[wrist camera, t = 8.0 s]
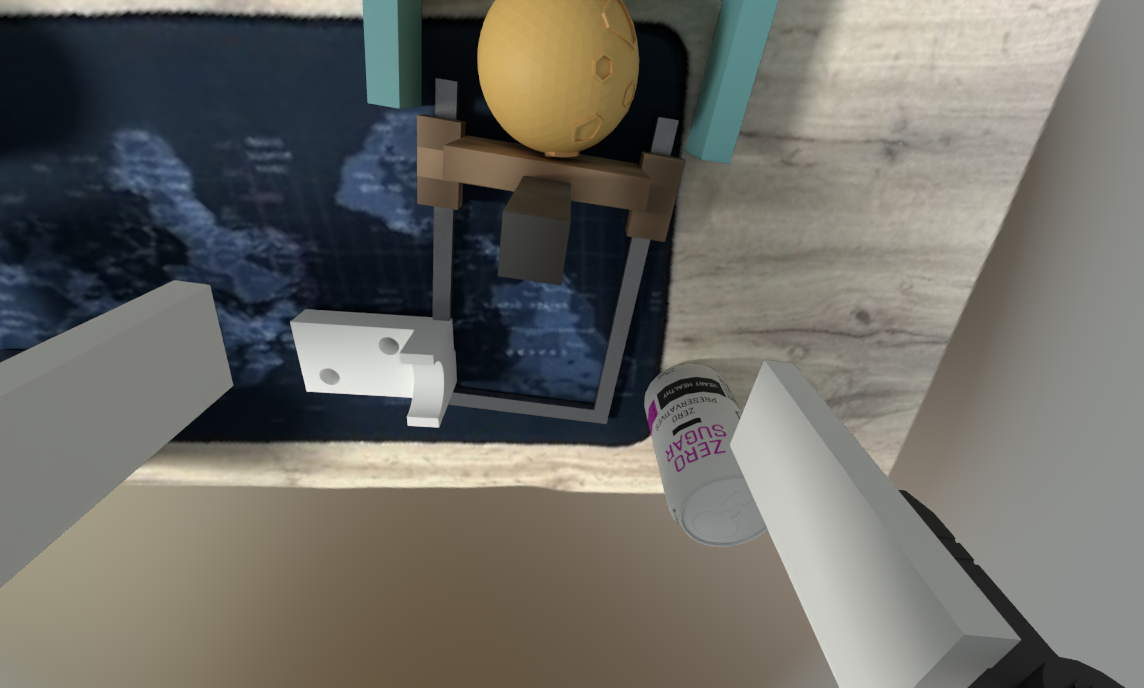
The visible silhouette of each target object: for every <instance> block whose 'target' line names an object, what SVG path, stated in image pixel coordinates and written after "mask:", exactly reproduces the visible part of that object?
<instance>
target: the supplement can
mask: <svg viewBox="0 0 1144 688" xmlns="http://www.w3.org/2000/svg"><path fill="white" fill-rule="evenodd" d="M644 406H645V411H646V415H647V419H648V423H649V428H650V432H651V436H652V441H653V445H654V449H655V453H656V458H657V462H658V466H659V470H660V475H661V479H662V483H663V488H664V492H665V496H666V500H667V504H668V508H669V510H670V513H671V515H672V517H673V519H674V520H675V521H676V522H678V524H680V525H681V526H682V527H683V529H684V532H685V533H686V534H688V535H689V536H690V537H691V538H692V539H693V540H694V541H697V542H699V543H702V544H704V545H707V546H716V547H727V546H736V545H740V544H743V543H746V542H748V541H751V540H754V539H756V538H757V537H759V536H760V535H762V534H763V533H764V532H766V531H767V530H768V529H767V526H766V524H765V522H764V520H763V518H762V515H761V513H760V511H759V509H758V507H757V504H756V502H755V500H754V498H753V495H752V493H751V491H750V489H749V487H748V484H747V482H746V480H745V478H744V476H743V473H742V471H741V469H740V467H739V464H738V462H737V460H736V458H735V456H734V453H733V451H732V449H731V447H730V443H731V440H732V438H733V435H734V433H735V430H736V428H737V425H738V423H739V421H740V418H741V416H742V412H741V410H740V408H739V406H738V404H737V402H736V400H735V398H734V397H733V395H732V393H731V391H730V389H729V387H728V385H727V384H726V382H725V380H724V379H723V378H722V377H721V375H720V374H719V373H718V372H717V371H715V370H713V369H711V368H709V367H707V366H705V365H700V364H692V363H688V364H682V365H676V366H673V367H671V368H669V369H667V370H665V371H663V372H661V373H660V374H659V375H658V376H657V377H656V378H655V379H654V380H653V381H652V382H651V383H650V385H649V387H648V389H647V391H646V393H645V404H644Z"/></svg>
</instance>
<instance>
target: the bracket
mask: <svg viewBox="0 0 1144 688" xmlns="http://www.w3.org/2000/svg"><path fill="white" fill-rule="evenodd" d="M290 324H291V328H292V332H293V337H294V341H295V345H296V349H297V353H298V357H299V361H300V366H301V370H302V374H303V378H304V382H305V386H306V390H307V392H324V393H341V394H358V395H375V396H393V397H410V398H412V403H411V407H410V410H409V413H408V415H407V422H408V426H423V427H439V426H440V423H441V421H442V418H443V416H444V413H445V411H446V408H447V406H448V403H449V400H450V398H451V395H452V393H453V390H454V388H455V385H456V383H457V372H456V353H455V350H454V342H453V324H452V319H450V321H440V320H433V317H419V316H403V315H388V314H372V313H357V312H341V311H326V310H310V309H305V310H304V311H303V312H301V313H300V314H299V315H298V316H297V317H295V318H294V319H293V320H292V321H290Z"/></svg>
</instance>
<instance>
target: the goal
mask: <svg viewBox="0 0 1144 688" xmlns="http://www.w3.org/2000/svg"><path fill="white" fill-rule="evenodd" d="M722 1H723V2H722V6H721V10H720V14H719V18H718V22H717V26H716V30H715V34H714V38H713V42H712V46H711V50H710V54H709V58H708V62H707V66H706V70H705V74H704V78H703V82H702V86H701V90H700V94H699V98H698V102H697V106H696V110H695V114H694V118H693V122H692V126H691V130H690V134H689V138H688V142H687V146H686V149H685V151H686V152H688V153H690V154H692V155H694V156H696V157H698V158H699V159H702V160H708V161H714V162H720V163H726V164H730V161H731V158H732V155H733V151H734V148H735V145H736V141H737V138H738V135H739V131H740V128H741V125H742V121H743V118H744V114H745V111H746V108H747V104H748V101H749V98H750V94H751V91H752V88H753V84H754V81H755V77H756V74H757V71H758V67H759V64H760V61H761V57H762V54H763V51H764V47H765V44H766V41H767V37H768V34H769V30H770V27H771V24H772V20H773V17H774V14H775V10H776V7H777V4H778V0H722ZM363 17H364V38H365V58H366V79H367V99H368V103H370V104H376V105H382V106H388V107H394V108H410V107H421V106H422V0H363Z"/></svg>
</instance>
